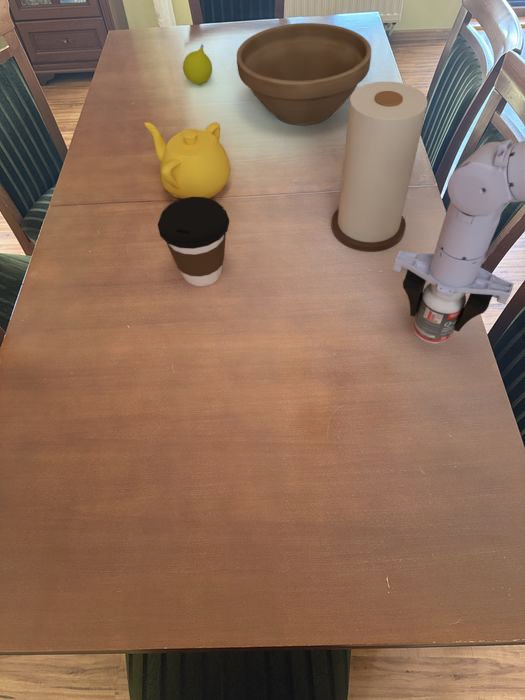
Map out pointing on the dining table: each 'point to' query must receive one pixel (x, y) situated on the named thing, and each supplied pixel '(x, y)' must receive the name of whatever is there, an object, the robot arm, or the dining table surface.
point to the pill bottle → (437, 315)
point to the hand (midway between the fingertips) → (435, 318)
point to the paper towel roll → (378, 164)
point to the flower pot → (303, 69)
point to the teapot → (192, 162)
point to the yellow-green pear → (197, 67)
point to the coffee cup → (196, 238)
